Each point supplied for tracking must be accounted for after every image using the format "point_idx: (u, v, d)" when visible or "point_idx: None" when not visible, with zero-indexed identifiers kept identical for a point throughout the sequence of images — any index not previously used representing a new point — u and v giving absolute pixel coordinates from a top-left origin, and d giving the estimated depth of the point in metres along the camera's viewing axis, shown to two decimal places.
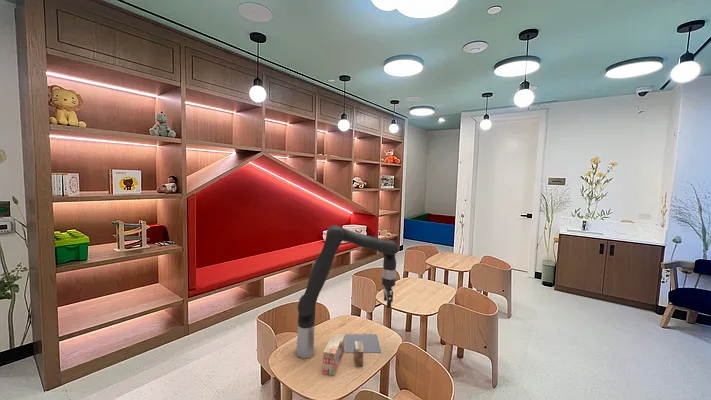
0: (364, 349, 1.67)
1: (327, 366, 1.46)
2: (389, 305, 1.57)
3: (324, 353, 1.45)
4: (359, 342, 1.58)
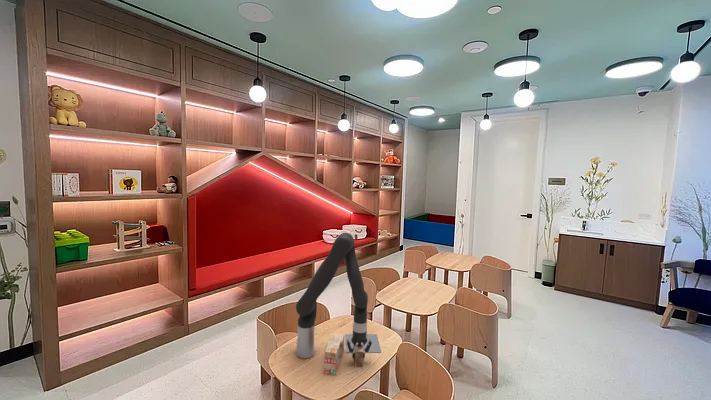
0: None
1: (328, 365, 1.46)
2: (364, 355, 1.56)
3: (325, 353, 1.45)
4: None
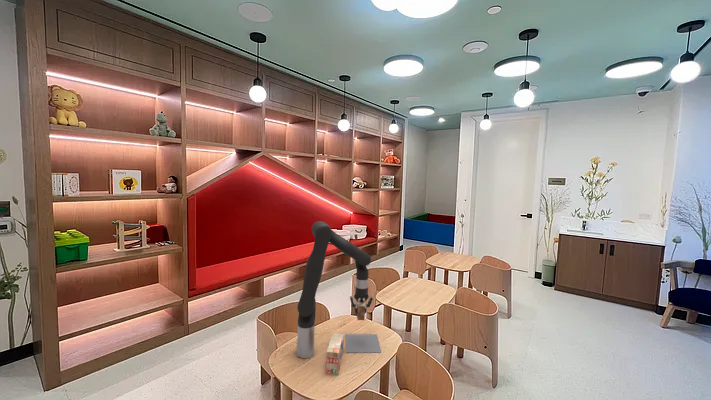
0: (364, 349, 1.67)
1: (330, 365, 1.46)
2: None
3: (327, 353, 1.45)
4: None
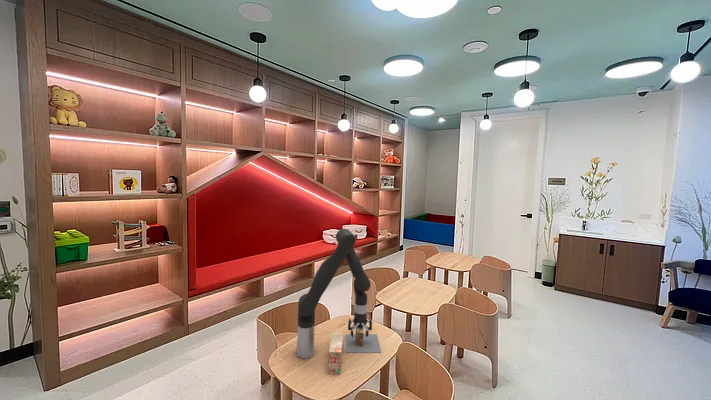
0: (364, 349, 1.67)
1: (333, 365, 1.46)
2: None
3: (330, 353, 1.46)
4: None
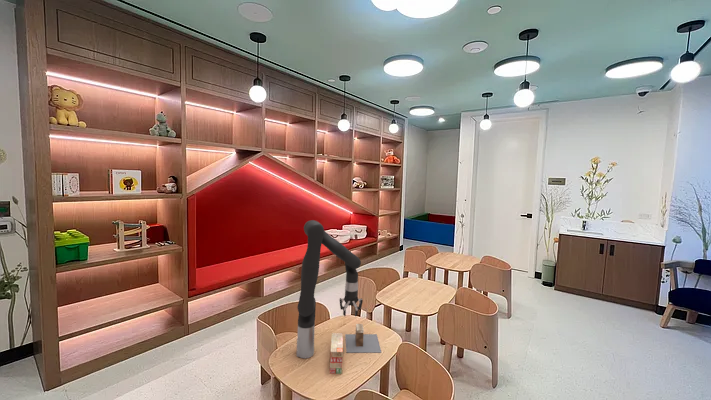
0: (364, 349, 1.67)
1: (334, 365, 1.46)
2: None
3: (331, 353, 1.46)
4: (360, 324, 1.74)
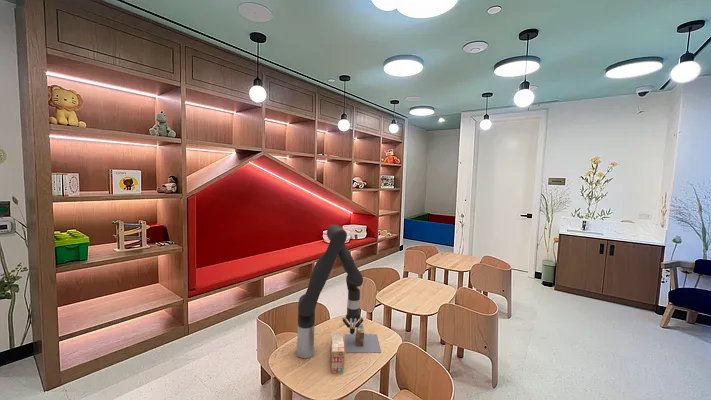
0: (364, 349, 1.67)
1: (336, 365, 1.47)
2: (354, 330, 1.72)
3: (333, 353, 1.46)
4: (361, 324, 1.74)
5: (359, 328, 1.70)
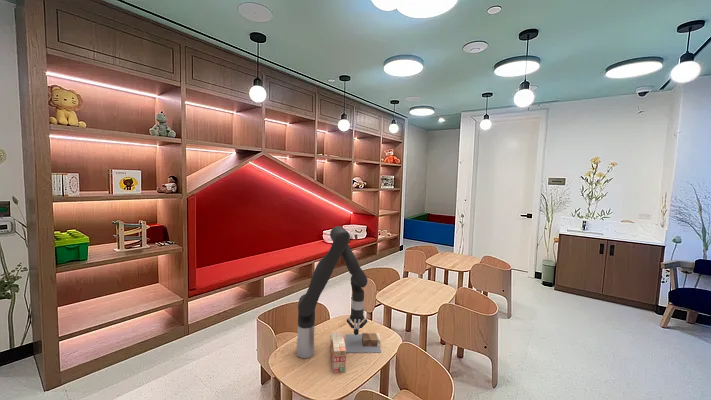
0: (364, 349, 1.67)
1: (337, 364, 1.47)
2: (358, 331, 1.72)
3: (335, 352, 1.46)
4: None
5: (379, 340, 1.72)
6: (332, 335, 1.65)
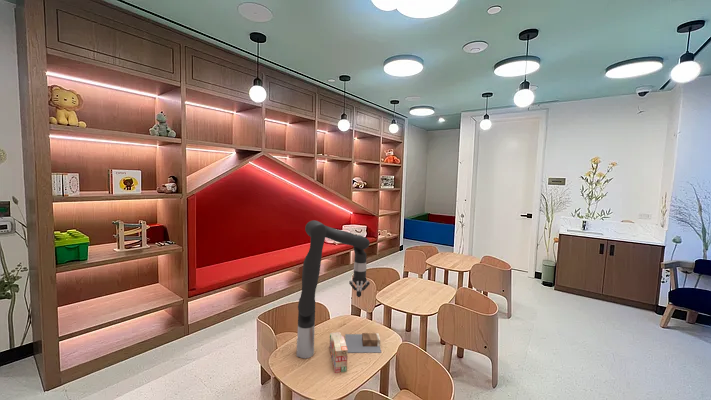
0: (364, 349, 1.67)
1: (339, 364, 1.48)
2: None
3: (336, 352, 1.46)
4: None
5: (379, 340, 1.72)
6: (332, 335, 1.65)
